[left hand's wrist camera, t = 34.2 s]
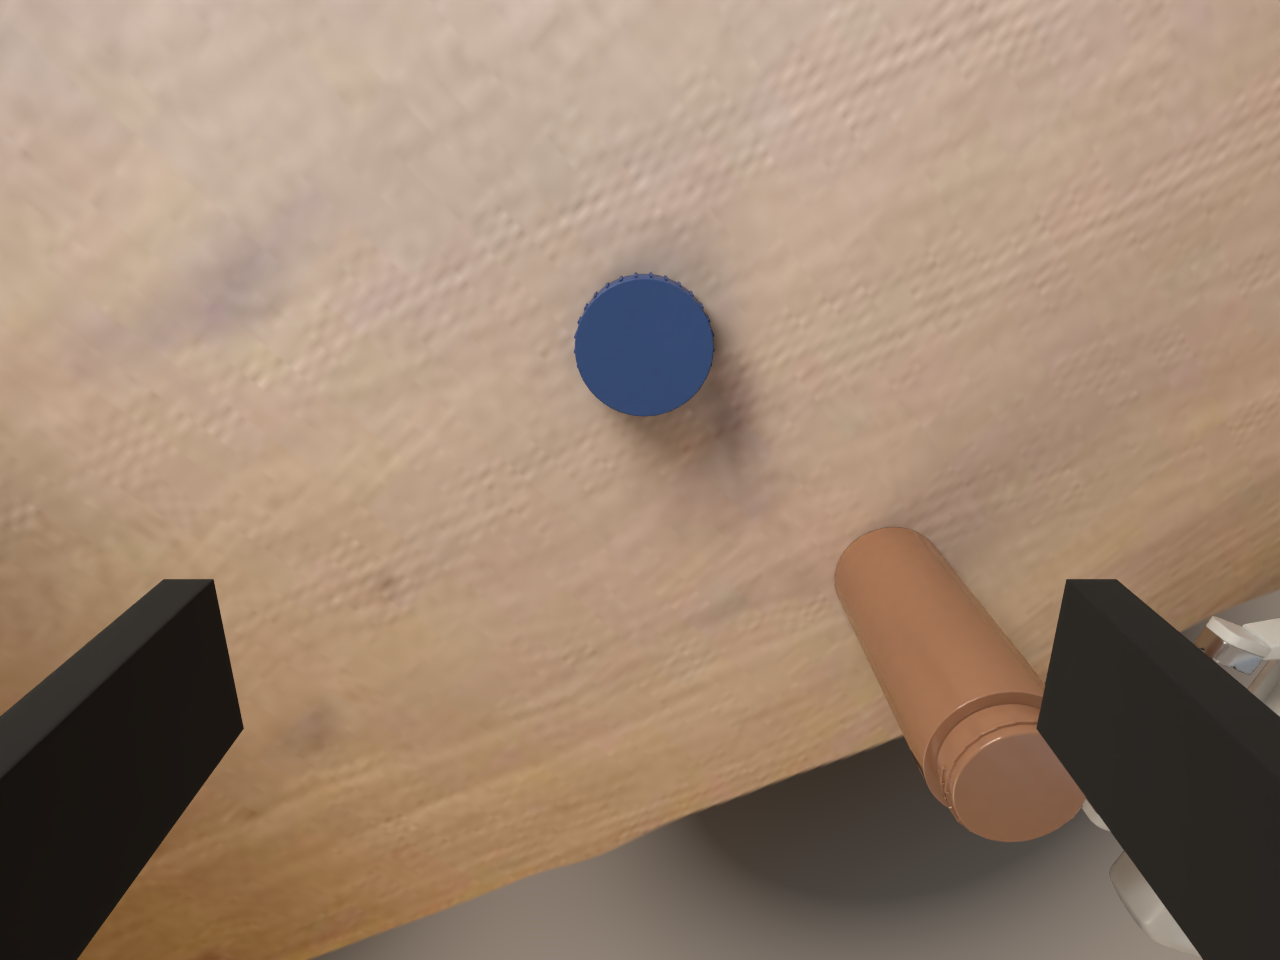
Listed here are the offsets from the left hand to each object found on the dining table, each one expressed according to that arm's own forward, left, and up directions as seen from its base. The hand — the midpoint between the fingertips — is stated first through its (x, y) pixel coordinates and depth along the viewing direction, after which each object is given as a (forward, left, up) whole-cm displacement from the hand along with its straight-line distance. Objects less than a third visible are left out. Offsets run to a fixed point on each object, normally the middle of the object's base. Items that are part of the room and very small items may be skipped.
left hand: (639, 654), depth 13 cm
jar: (+9, -15, -26) cm, 31 cm away
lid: (0, 0, -25) cm, 25 cm away
